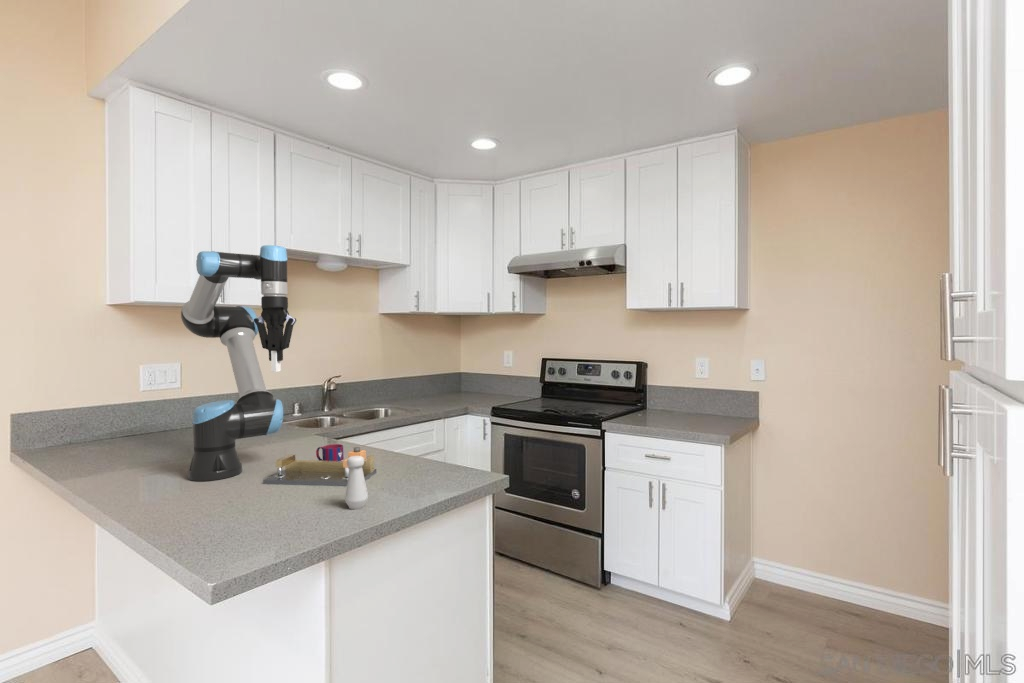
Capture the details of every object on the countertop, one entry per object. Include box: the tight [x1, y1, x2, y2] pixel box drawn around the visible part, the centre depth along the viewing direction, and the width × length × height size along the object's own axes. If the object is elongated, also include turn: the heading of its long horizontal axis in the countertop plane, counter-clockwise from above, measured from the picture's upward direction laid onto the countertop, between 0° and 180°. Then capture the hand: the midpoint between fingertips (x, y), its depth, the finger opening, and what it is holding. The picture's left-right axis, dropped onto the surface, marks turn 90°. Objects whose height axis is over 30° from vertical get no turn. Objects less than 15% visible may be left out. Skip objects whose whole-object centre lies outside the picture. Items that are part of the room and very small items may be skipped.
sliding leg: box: [343, 446, 367, 477], centre depth 159 cm, size 4×10×7 cm, turn 172°
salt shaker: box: [344, 456, 369, 510], centre depth 133 cm, size 6×6×13 cm
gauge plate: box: [262, 468, 377, 487], centre depth 159 cm, size 30×14×1 cm, turn 82°
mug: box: [315, 443, 345, 461], centre depth 174 cm, size 7×10×7 cm
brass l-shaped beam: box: [275, 454, 375, 476], centre depth 160 cm, size 29×9×5 cm, turn 82°
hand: (276, 371), depth 160 cm, fingers closed
